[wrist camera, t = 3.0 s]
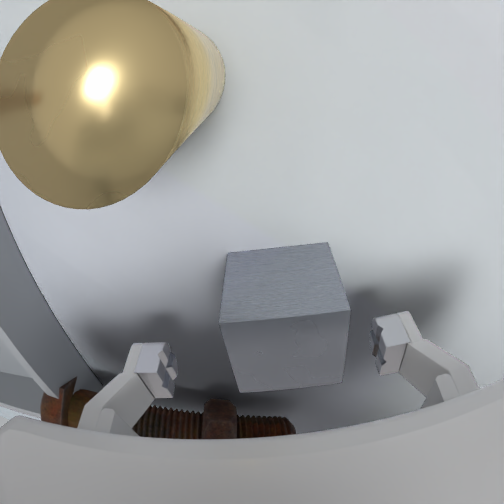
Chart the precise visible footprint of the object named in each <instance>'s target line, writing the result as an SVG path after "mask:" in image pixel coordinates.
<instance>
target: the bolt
mask: <svg viewBox="0 0 504 504" xmlns="http://www.w3.org/2000/svg"><path fill="white" fill-rule="evenodd" d="M76 380H77V377H75V378H73V379H72V380H70V381H69V382H67V383H66V384H64V385H63V386H61V387H60V388H59V399H57V398H55V397H52V396H49V395H47V394H46V393H45V392H44V393H43V396H42V399H41V405H40V414H41V421H44V422H48V423H53V424H58V425H62V426H67V427H73V428H77V427H78V424H79V421H80V418H81V415H82V412H83V409H84V406H85V405H86V404H87V403H88V402H89V401H90V400H91V399H92V398H93V397H94V396H95V395H96V394H97V393H98V392H94V391H90V390H86V389H80V390H78V391H76V392H75V393H74V394H73V392H74V388H75V384H76ZM132 429H133V430H134V431H135V432H136V433H137V434H138V435H139V437H151V438H167V439H243V438H260V437H273V436H283V435H293V434H296V430H295V428H294V426H293V425H292V423H291V422H289V420H288V419H287V418H286V417H284V418H282V417H280V416H279V417H278V418H277V417H276V416H274V417H273V418H272V417H271V416H269V417H267V418H266V416H263V417H262V418H261V417H260V416H258V417H255V416H254V415H253V416H252V417H251V418H250V416H249V415H247V416H246V417H244V415H242V416H241V417H239V416H238V415H237V411H236V407H235V406H234V405H233V404H232V403H231V402H230V400H222V399H210V400H209V401H207V402H206V403H205V404H204V412H203V413H202V414H200V412H199V411H198V412H197V413H196V414H195V412H194V411H192V412H191V413H190V412H189V411H188V410H187V411H186V412H184V411H183V410H181V411H178V409H177V408H176V409H175V410H174V411H173V409H172V408H170V409H169V410H168V409H167V408H166V407H165V408H164V409H162V407H161V406H160V407H159V408H157V407H156V405H154V406H153V407H152V406H151V405H150V406H149V407H148V408H147V410H146V411H145V412H144V414H143V415H142V416H141V417H140V419H139V420H138V421H137V422H136V424H135V425H134V426H133V427H132Z"/></svg>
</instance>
